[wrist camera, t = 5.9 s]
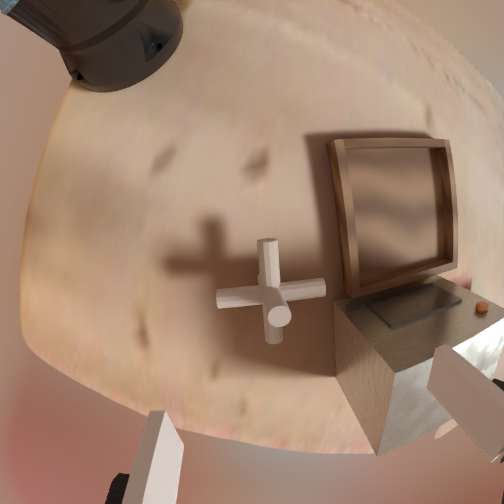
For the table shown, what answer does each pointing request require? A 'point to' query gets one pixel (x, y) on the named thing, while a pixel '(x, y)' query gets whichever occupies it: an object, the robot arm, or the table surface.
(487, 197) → the table surface
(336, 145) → the tray
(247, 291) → the pipe connector
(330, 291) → the table surface
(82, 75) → the robot arm
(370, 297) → the box
